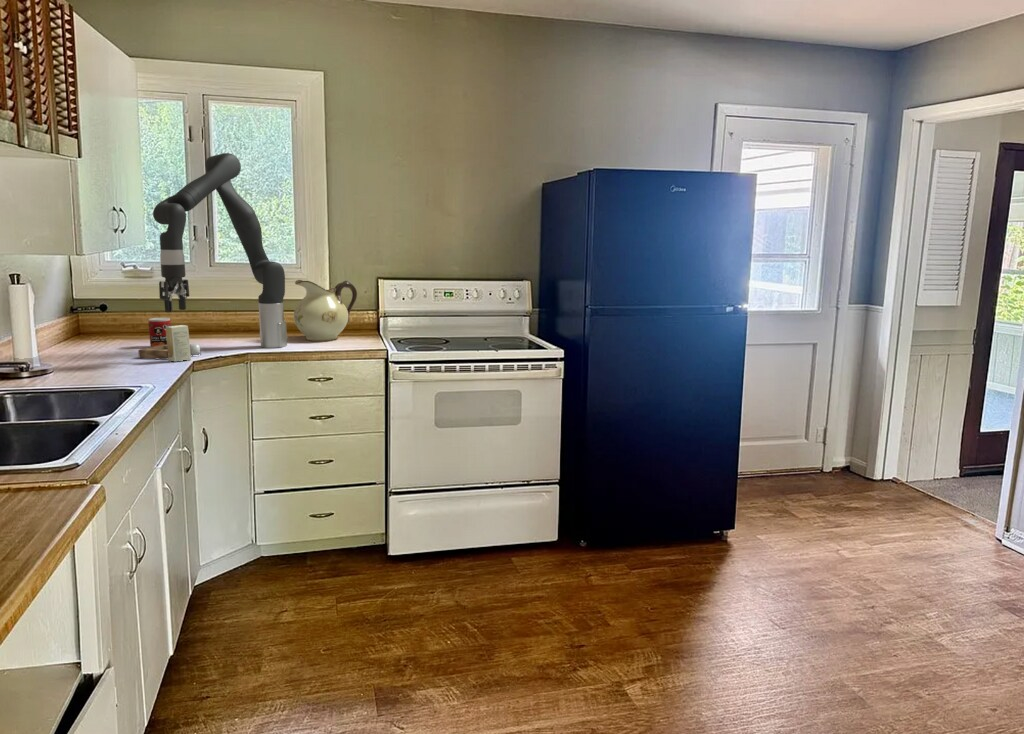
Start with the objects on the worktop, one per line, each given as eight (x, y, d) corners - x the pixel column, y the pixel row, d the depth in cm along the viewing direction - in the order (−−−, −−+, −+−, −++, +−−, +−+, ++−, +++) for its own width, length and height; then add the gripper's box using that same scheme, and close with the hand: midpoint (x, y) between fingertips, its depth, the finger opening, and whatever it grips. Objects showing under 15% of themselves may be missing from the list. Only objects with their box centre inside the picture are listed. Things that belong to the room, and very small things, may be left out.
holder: (195, 353, 277) (194, 345, 277) (174, 359, 264) (173, 350, 263) (161, 352, 279) (161, 344, 278) (139, 358, 265) (138, 350, 265)
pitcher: (283, 340, 312) (281, 280, 307) (315, 334, 334) (313, 277, 330) (330, 344, 305) (329, 282, 301) (359, 337, 327) (359, 279, 323)
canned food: (148, 348, 288) (146, 320, 286) (152, 345, 296) (150, 317, 294) (170, 347, 290) (168, 319, 288) (173, 345, 298) (171, 317, 296)
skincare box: (185, 359, 265) (182, 324, 263) (191, 360, 262) (189, 325, 260) (167, 361, 260) (164, 326, 258) (173, 362, 257) (171, 327, 255)
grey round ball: (202, 354, 274) (201, 344, 274) (197, 356, 271) (196, 345, 270) (192, 354, 275) (192, 343, 274) (187, 356, 271) (186, 345, 270)
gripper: (171, 264, 248) (174, 313, 250) (194, 262, 262) (197, 309, 264) (150, 263, 249) (153, 312, 251) (174, 262, 263) (177, 308, 265)
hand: (175, 310), depth 258 cm, fingers open, 8 cm apart
